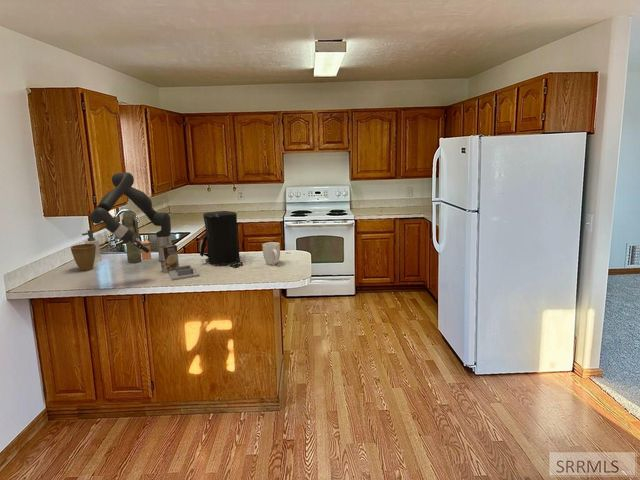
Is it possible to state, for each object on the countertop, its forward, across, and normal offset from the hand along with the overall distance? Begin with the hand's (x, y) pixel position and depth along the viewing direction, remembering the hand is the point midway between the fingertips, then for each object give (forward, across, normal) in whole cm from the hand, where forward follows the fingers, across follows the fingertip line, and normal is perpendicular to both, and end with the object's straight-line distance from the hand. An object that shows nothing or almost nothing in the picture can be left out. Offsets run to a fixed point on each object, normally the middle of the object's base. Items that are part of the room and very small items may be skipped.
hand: (148, 250), depth 276 cm
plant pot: (-14, +48, +39) cm, 63 cm away
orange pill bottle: (+2, 0, +4) cm, 5 cm away
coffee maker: (+44, +14, -19) cm, 50 cm away
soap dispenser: (-11, +70, +37) cm, 80 cm away
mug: (+65, -7, -39) cm, 76 cm away
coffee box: (+21, +14, +4) cm, 26 cm away
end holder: (+26, 0, -1) cm, 26 cm away
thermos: (+8, +51, +18) cm, 55 cm away
